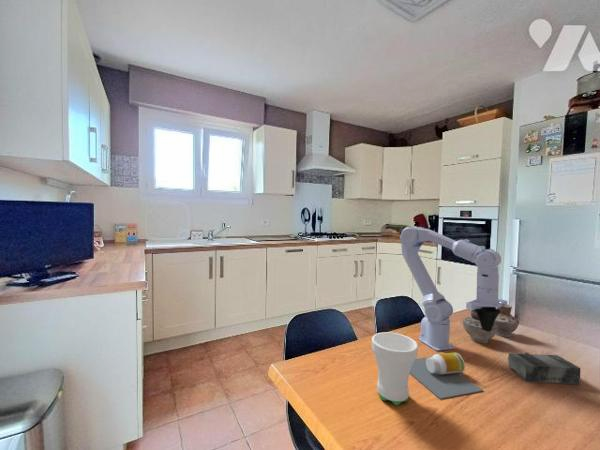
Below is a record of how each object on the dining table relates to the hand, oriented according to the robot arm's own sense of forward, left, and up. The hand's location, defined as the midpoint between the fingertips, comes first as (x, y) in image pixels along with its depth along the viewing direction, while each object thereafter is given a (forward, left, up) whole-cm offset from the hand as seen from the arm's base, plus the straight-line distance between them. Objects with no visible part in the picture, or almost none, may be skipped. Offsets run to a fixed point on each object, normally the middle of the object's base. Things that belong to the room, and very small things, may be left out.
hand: (486, 330), depth 87 cm
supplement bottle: (+3, -13, -7) cm, 15 cm away
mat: (+3, -21, -10) cm, 24 cm away
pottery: (-15, +20, -11) cm, 27 cm away
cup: (+8, -39, -11) cm, 41 cm away
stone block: (+9, +10, -11) cm, 18 cm away
